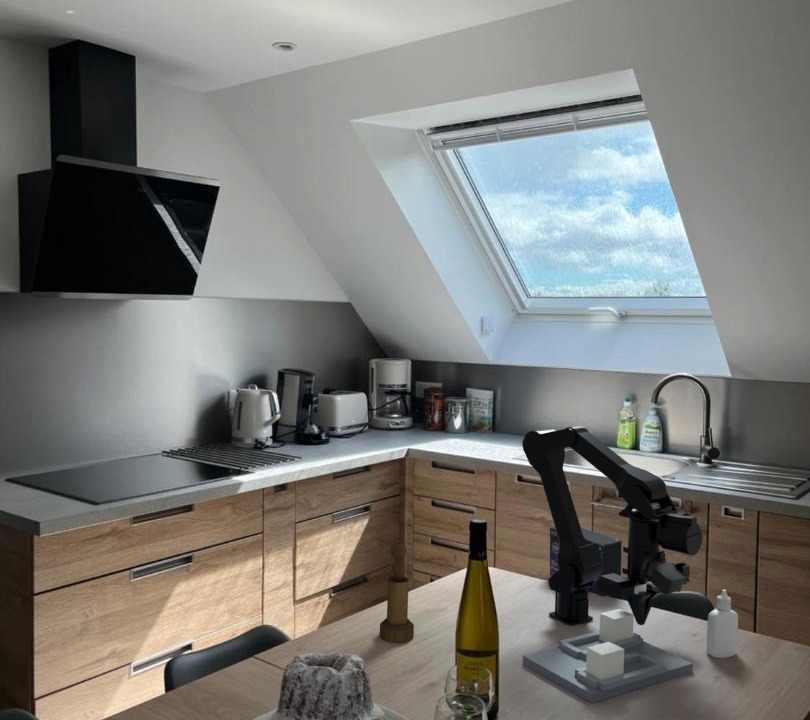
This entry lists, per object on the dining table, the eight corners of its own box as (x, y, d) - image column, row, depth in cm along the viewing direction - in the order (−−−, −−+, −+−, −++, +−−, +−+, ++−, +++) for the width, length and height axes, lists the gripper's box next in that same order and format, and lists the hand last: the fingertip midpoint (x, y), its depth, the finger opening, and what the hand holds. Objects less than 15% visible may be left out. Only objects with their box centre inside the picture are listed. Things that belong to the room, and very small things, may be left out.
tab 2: (586, 676, 139) (587, 647, 139) (607, 670, 142) (608, 641, 142) (601, 685, 136) (602, 655, 136) (623, 678, 139) (624, 648, 139)
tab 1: (599, 639, 155) (600, 613, 155) (618, 634, 158) (619, 608, 158) (613, 646, 152) (614, 619, 152) (632, 641, 155) (633, 614, 155)
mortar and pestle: (419, 640, 157) (421, 546, 156) (386, 645, 155) (388, 549, 154) (406, 628, 163) (408, 537, 162) (374, 632, 161) (376, 539, 160)
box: (547, 576, 198) (549, 526, 197) (568, 571, 201) (569, 522, 201) (601, 597, 184) (602, 543, 183) (622, 592, 187) (623, 539, 187)
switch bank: (522, 663, 148) (522, 649, 148) (619, 638, 160) (620, 625, 160) (592, 703, 133) (592, 688, 133) (693, 671, 146) (693, 657, 146)
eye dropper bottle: (702, 648, 156) (705, 585, 156) (734, 650, 156) (737, 587, 155) (708, 657, 152) (711, 593, 151) (740, 660, 151) (743, 595, 151)
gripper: (641, 561, 146) (638, 649, 147) (712, 547, 156) (708, 629, 156) (595, 545, 155) (593, 628, 156) (664, 533, 165) (661, 610, 166)
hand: (640, 624), depth 158 cm, fingers closed
